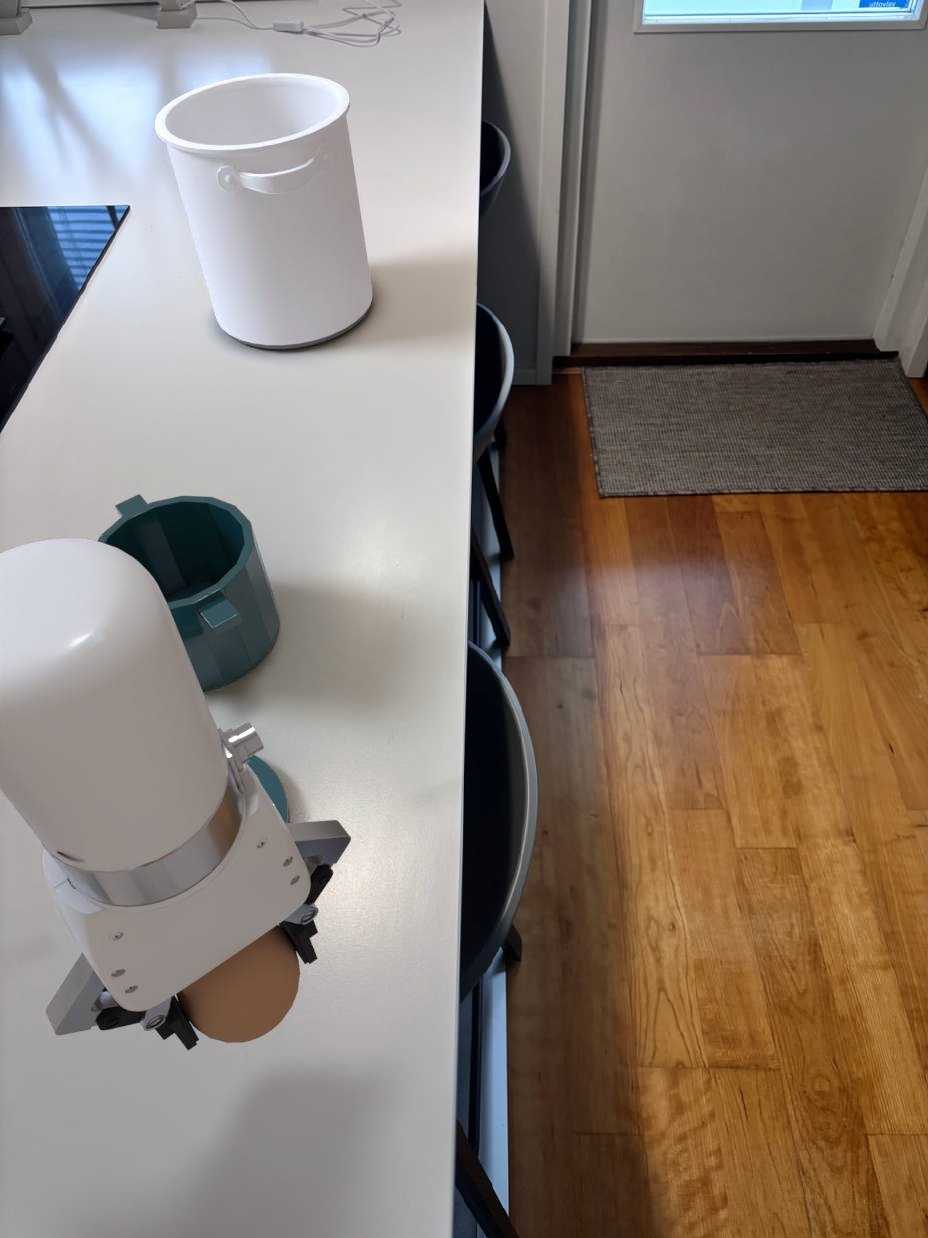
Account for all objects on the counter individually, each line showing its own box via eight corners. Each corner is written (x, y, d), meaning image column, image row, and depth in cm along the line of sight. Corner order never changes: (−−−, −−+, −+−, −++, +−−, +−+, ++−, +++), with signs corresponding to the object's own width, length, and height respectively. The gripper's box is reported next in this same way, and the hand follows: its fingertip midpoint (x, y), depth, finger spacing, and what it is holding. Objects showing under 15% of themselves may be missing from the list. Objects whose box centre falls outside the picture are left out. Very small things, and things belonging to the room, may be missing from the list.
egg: (171, 1019, 53) (126, 959, 47) (249, 926, 57) (217, 860, 51) (257, 1087, 51) (221, 1033, 45) (333, 985, 54) (309, 922, 48)
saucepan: (183, 739, 78) (143, 659, 71) (94, 610, 89) (50, 528, 81) (322, 657, 83) (299, 573, 76) (222, 544, 94) (193, 460, 86)
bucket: (407, 336, 117) (381, 127, 99) (235, 382, 113) (175, 173, 95) (347, 247, 133) (315, 54, 115) (195, 285, 129) (137, 90, 111)
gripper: (285, 650, 44) (339, 843, 57) (-100, 865, 37) (63, 1027, 50) (375, 756, 39) (411, 938, 53) (-41, 1020, 33) (120, 1153, 46)
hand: (241, 981), depth 51 cm, fingers closed on egg, 6 cm apart
